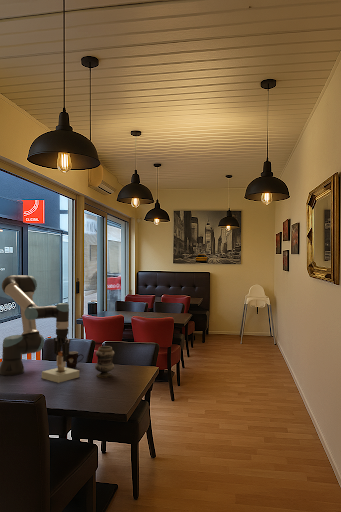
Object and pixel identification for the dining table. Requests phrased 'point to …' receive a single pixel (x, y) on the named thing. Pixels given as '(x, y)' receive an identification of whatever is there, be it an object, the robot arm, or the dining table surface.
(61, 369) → the peg
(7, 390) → the dining table surface
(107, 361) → the apothecary jar
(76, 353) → the coffee mug
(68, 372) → the socket block
